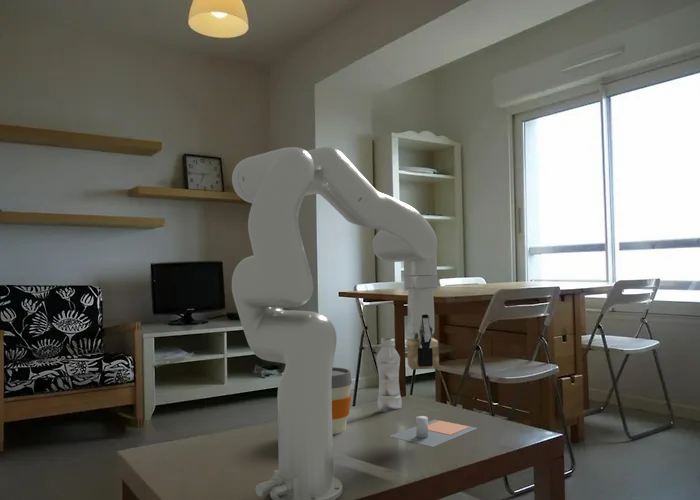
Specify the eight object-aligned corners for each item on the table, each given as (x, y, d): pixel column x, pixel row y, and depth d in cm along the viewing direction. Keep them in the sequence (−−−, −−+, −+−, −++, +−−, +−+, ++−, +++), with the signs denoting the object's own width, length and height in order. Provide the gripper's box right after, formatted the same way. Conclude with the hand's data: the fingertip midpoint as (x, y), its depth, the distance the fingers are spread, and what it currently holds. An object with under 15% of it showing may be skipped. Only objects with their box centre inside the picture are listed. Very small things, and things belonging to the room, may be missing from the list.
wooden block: (411, 369, 120) (411, 342, 120) (407, 364, 126) (407, 338, 126) (439, 368, 120) (438, 341, 120) (433, 364, 126) (432, 337, 126)
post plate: (433, 454, 114) (432, 426, 114) (388, 442, 122) (388, 417, 122) (477, 434, 127) (477, 409, 127) (435, 425, 135) (434, 402, 135)
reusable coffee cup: (361, 439, 125) (359, 373, 126) (309, 446, 121) (307, 378, 121) (341, 425, 137) (340, 365, 138) (293, 431, 132) (292, 369, 133)
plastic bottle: (400, 415, 145) (398, 340, 146) (375, 414, 147) (374, 340, 147) (403, 409, 152) (401, 337, 152) (379, 409, 153) (377, 337, 154)
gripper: (399, 283, 132) (401, 358, 131) (409, 285, 115) (411, 371, 114) (430, 282, 132) (432, 357, 131) (444, 284, 115) (447, 370, 114)
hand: (423, 362), depth 123 cm, fingers closed on wooden block, 6 cm apart
